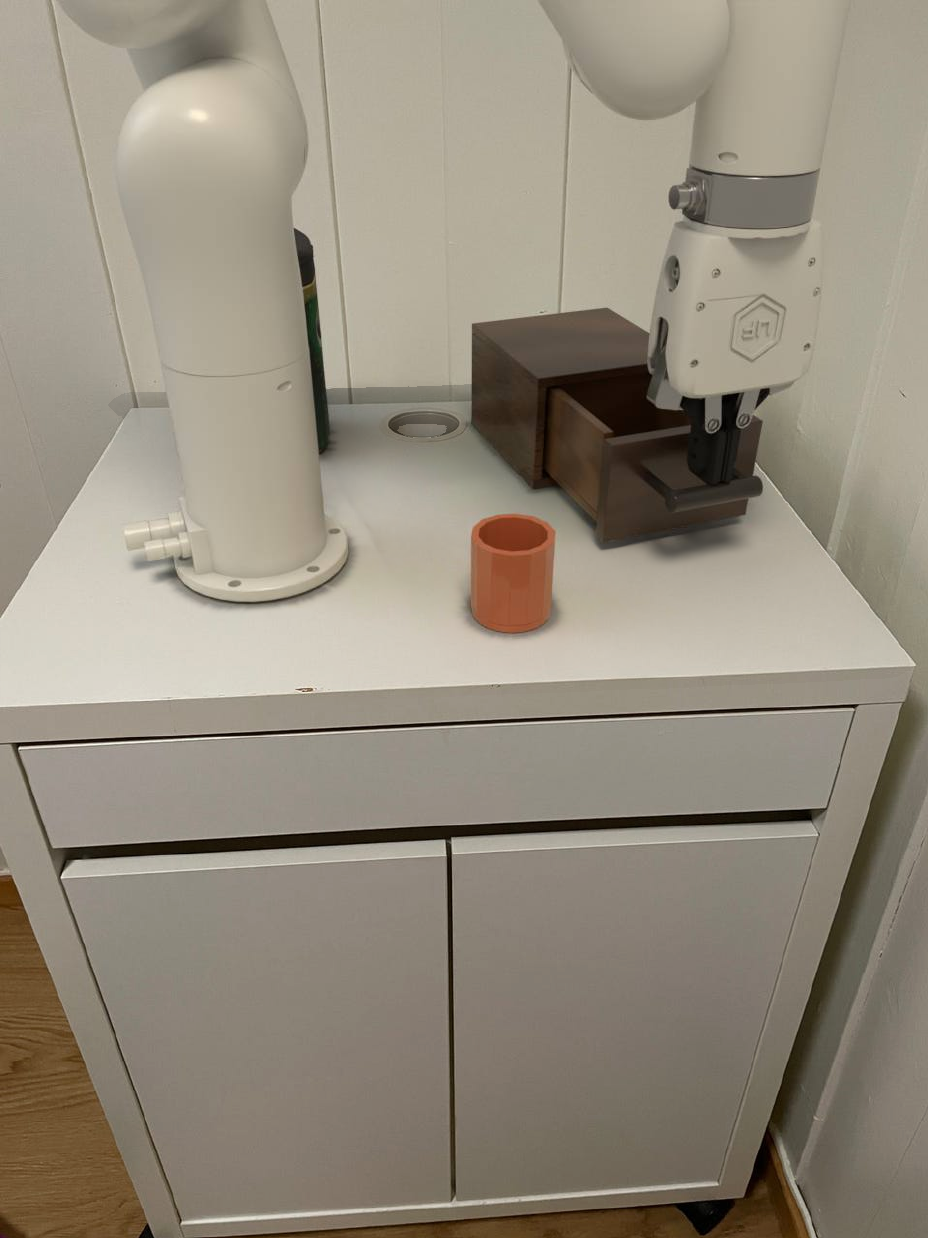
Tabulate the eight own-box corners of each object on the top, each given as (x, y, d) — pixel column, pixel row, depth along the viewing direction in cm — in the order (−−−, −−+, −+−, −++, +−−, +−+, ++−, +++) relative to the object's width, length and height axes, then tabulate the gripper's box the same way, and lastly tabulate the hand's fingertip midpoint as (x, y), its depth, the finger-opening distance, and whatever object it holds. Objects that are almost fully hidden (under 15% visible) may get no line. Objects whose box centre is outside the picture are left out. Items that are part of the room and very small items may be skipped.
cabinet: (675, 464, 85) (690, 357, 80) (533, 489, 81) (537, 378, 76) (599, 404, 97) (607, 307, 91) (471, 423, 93) (471, 323, 87)
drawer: (782, 543, 72) (803, 446, 68) (633, 574, 69) (645, 473, 64) (658, 446, 86) (668, 360, 82) (529, 468, 83) (533, 379, 78)
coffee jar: (244, 422, 93) (216, 216, 82) (328, 417, 94) (311, 213, 83) (241, 466, 85) (209, 244, 75) (332, 460, 86) (314, 240, 76)
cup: (488, 640, 64) (490, 561, 60) (459, 597, 68) (459, 521, 65) (564, 623, 65) (569, 546, 62) (530, 582, 70) (534, 507, 66)
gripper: (670, 223, 54) (640, 518, 64) (893, 200, 58) (831, 481, 68) (608, 197, 59) (589, 471, 70) (814, 178, 64) (768, 439, 74)
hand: (709, 475), depth 69 cm, fingers closed
